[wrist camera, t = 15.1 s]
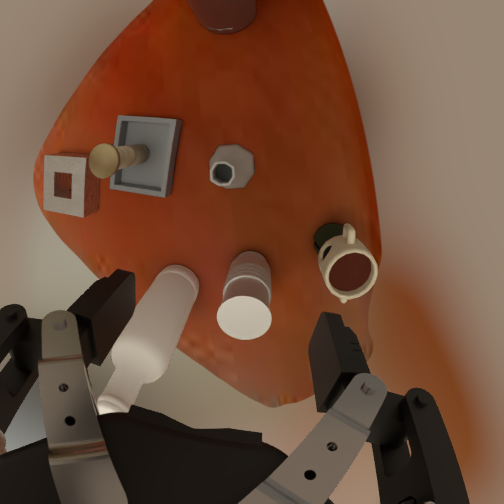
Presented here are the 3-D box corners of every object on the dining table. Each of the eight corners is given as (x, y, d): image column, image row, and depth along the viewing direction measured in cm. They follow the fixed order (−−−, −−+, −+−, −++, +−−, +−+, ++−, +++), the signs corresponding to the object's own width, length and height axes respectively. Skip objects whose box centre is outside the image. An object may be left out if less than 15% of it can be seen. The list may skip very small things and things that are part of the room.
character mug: (311, 207, 44) (328, 233, 32) (354, 208, 44) (384, 234, 32) (308, 270, 48) (321, 313, 36) (348, 269, 48) (371, 310, 36)
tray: (126, 116, 39) (118, 115, 37) (182, 120, 40) (176, 119, 37) (118, 185, 44) (109, 188, 41) (171, 193, 44) (164, 197, 41)
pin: (131, 139, 40) (90, 142, 29) (155, 141, 40) (118, 144, 29) (127, 165, 42) (87, 176, 31) (151, 168, 42) (115, 180, 31)
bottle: (208, 292, 51) (159, 435, 23) (175, 307, 53) (114, 439, 25) (183, 255, 48) (103, 387, 21) (150, 274, 50) (64, 396, 22)
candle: (221, 267, 49) (205, 318, 35) (249, 240, 47) (242, 284, 33) (251, 292, 50) (245, 348, 36) (279, 266, 48) (283, 318, 34)
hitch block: (61, 152, 42) (44, 155, 37) (101, 155, 42) (86, 157, 37) (59, 202, 45) (44, 209, 41) (98, 209, 46) (83, 217, 41)
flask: (215, 138, 41) (200, 138, 31) (261, 150, 41) (259, 152, 32) (203, 182, 43) (187, 194, 34) (248, 194, 44) (243, 209, 35)
